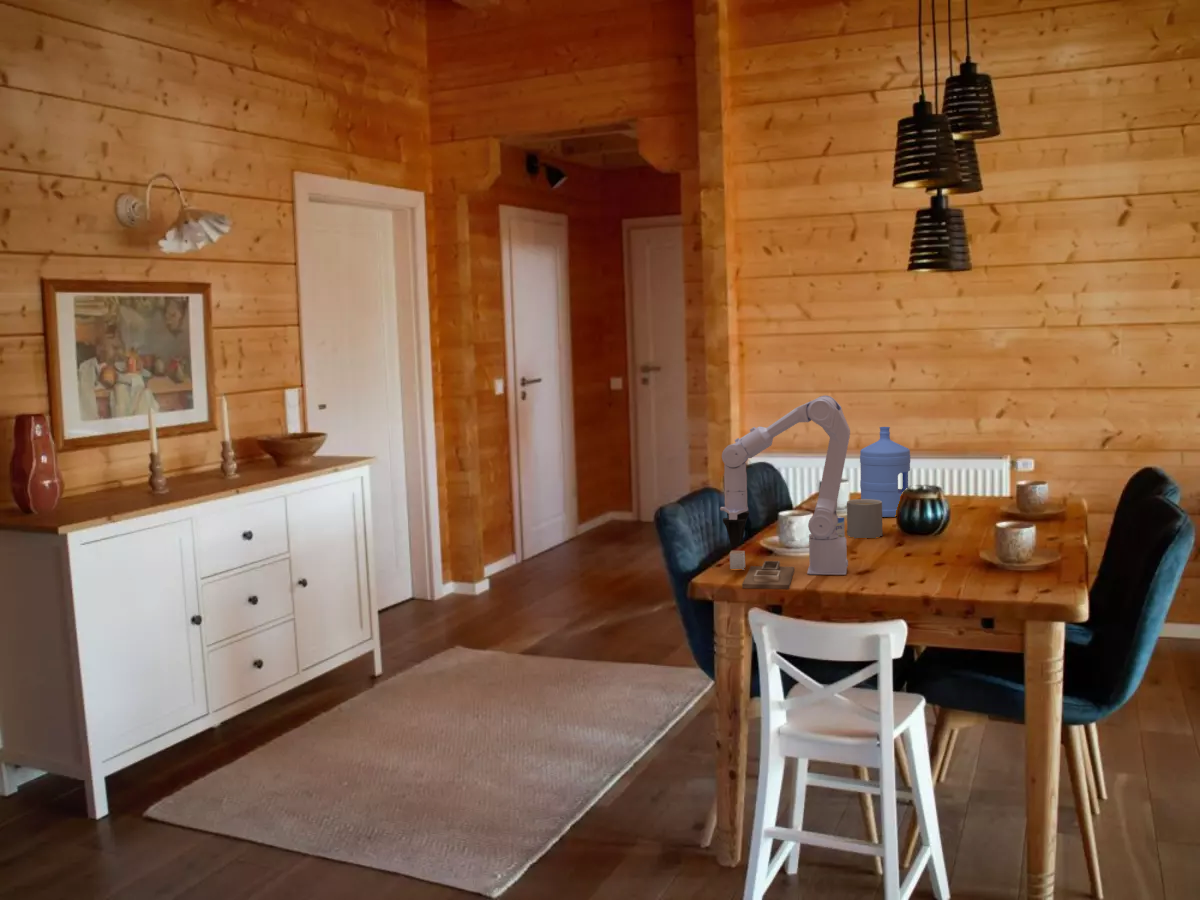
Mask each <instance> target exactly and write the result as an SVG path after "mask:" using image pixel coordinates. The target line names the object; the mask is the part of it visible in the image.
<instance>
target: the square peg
mask: <svg viewBox="0 0 1200 900" xmlns="http://www.w3.org/2000/svg"><path fill="white" fill-rule="evenodd" d="M745 552H746V551H745V550H730V552H729V570H730V569H742V570H744V571H745V569H746V553H745ZM744 568H745V569H744Z"/></svg>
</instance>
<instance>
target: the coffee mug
mask: <svg viewBox="0 0 1200 900" xmlns="http://www.w3.org/2000/svg"><path fill="white" fill-rule="evenodd" d="M846 521H847V522H846V525H847V527H846V531H847V533H846V535H848V536H850V537H854V538H853V539H856V538H875V539H877V538H876V537H880V536H882V537H883V518H882V501H880V500H873V499H861V498H860V499H856V498H855V499H850V500H848V501H846ZM848 536H847V537H848ZM850 537H849V538H850ZM880 538H881V537H880Z"/></svg>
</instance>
